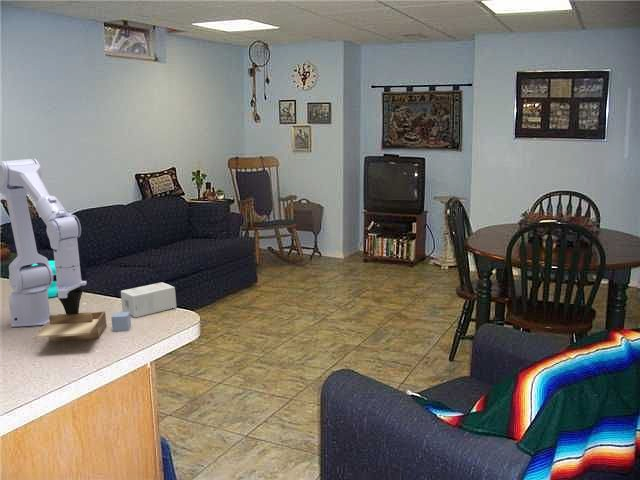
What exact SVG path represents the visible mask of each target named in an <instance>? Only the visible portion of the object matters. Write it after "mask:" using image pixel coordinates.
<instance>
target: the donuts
mask: <svg viewBox="0 0 640 480" xmlns="http://www.w3.org/2000/svg"><path fill="white" fill-rule="evenodd" d="M48 261H49V265H50V267H51V269H52V272H53V277H54V276H56V270H55V261H54V260H48ZM35 265H38V264H31V266H35ZM56 284H57V280H53V282H52V284H51V285H49V287H50V288H49V289H47V292H48V299H49V298H56V297H57V291H58V289H57V287H56Z"/></svg>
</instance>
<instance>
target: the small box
mask: <svg viewBox="0 0 640 480" xmlns="http://www.w3.org/2000/svg"><path fill="white" fill-rule="evenodd" d="M120 299H121V300H120V301H121V309H122V311H121V312H130V317H133V318H140V317H143V316H147V315H153V314H155V313H161V312H163V311H168V310H173V309H176V308H177V297H176V287H175V286H172V285H170V284H168V283H165V282H161V281H160V282H157V283H152V284H148V285H147V284H146V285H142V286H138V287H133V288H128V289H123V290H120ZM172 308H173V309H172Z"/></svg>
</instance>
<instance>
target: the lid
mask: <svg viewBox="0 0 640 480" xmlns="http://www.w3.org/2000/svg"><path fill="white" fill-rule="evenodd" d="M82 313H83V314H66V313H64V314H65V315H58V314H50V316H49V320H50V322H47V323H46V324H45V325H42V327H41V329H40V330H39V331H38V332H37V333H36V334H35V335H34V338H35V339H37V338H40V339H43V338H49V337H60V336H77V335H90V333H91V332H92V330H93V329H94V327H95V326H96V324H97V323H98V321H99V319H93V318H92V313H85V312H82Z"/></svg>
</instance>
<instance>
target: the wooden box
mask: <svg viewBox="0 0 640 480" xmlns="http://www.w3.org/2000/svg"><path fill="white" fill-rule="evenodd" d="M83 313H92V318H93V319H99V321H98V323H97V324H96V326H95V327H94V329H93V330H92V332H91V333H90V335H77V336H60V337H48V341H49V342H61V341H62V342H63V341H66V342H67V341H79V340H80V341H81V340H94V339H95V340H97V339H100V337H102V336H101V335H102V334H103V333H104V330H105V329H106V328H107V317H106V311H91V312H89V311H88V312H86V311H85V312H79V313H78V314H83ZM65 314H66V313H58V314H57V315H65Z"/></svg>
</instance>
